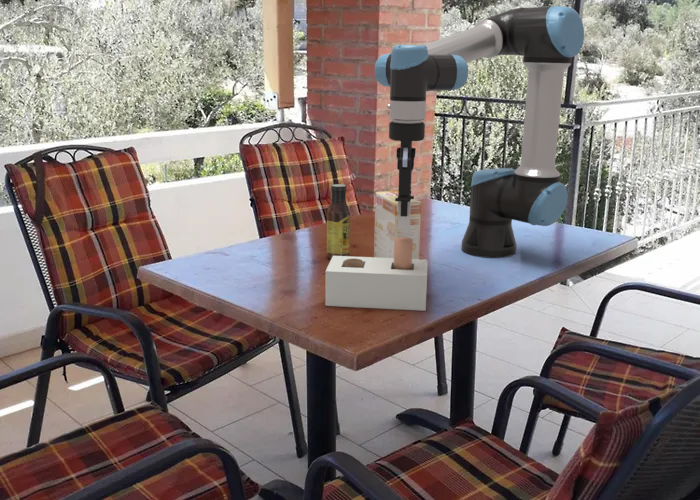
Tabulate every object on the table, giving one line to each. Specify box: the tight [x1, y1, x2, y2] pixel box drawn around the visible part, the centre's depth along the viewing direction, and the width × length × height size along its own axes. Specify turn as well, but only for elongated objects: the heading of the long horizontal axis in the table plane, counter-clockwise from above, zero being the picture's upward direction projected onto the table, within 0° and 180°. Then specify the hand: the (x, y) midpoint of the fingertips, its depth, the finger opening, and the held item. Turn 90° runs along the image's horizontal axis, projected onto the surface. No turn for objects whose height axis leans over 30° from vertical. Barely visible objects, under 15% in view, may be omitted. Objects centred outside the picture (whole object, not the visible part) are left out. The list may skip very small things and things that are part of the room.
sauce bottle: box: [326, 183, 351, 260], centre depth 189 cm, size 7×6×20 cm
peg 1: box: [345, 259, 363, 268], centre depth 160 cm, size 4×4×8 cm
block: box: [324, 255, 429, 312], centre depth 160 cm, size 22×12×8 cm, turn 83°
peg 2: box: [394, 237, 413, 270], centre depth 158 cm, size 4×4×8 cm
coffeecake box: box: [373, 190, 422, 259], centre depth 178 cm, size 15×7×20 cm, turn 17°
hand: (403, 229), depth 156 cm, fingers closed
